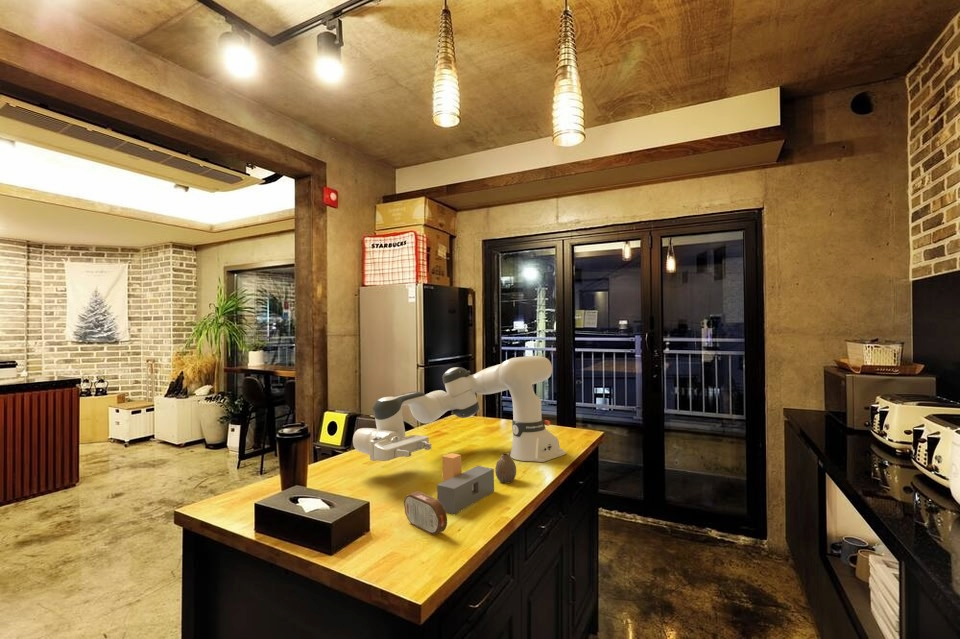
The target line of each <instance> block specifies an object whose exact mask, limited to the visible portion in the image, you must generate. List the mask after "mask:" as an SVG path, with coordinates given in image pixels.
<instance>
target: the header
mask: <svg viewBox="0 0 960 639" xmlns="http://www.w3.org/2000/svg"><path fill="white" fill-rule="evenodd" d="M472 484H473V485H474V490H473V491H472ZM436 489H437V490H436V493H437V494H436V495H437V496H436V499H437V500H438V501H439V502H440V503H441V504H442V505H443V507H444V509H445V512H446V514H447V513H448V514H450V515H454V514H455V515H457V514H458V513H460V512H461V510H462V511H463V510H465V509H467V508H468V507H470V506H472V505H473V504H475V503H477V502H479V501H481V500H482V499H484V498H485V497H487V496H489V495H491V494H492V493H494V492H495V468H492V467H487V466H481V465H476V466H474V467H472V468H470V469H468V470H466V471H464V472H461V474H459V475H457V476H455V477H453V478H451V479H448V480H446V481H444V482H443V481H442V482H440V483H438V484H437V485H436ZM459 511H460V512H459ZM457 512H458V513H457Z"/></svg>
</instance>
